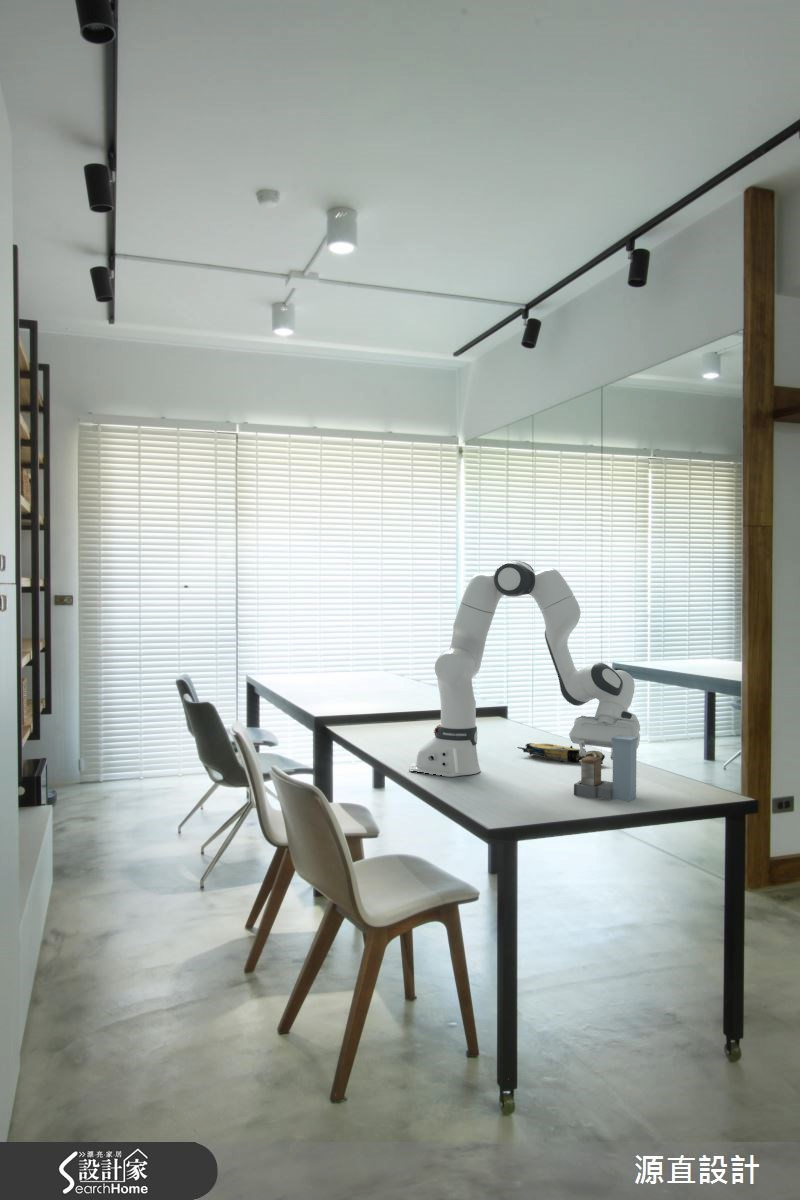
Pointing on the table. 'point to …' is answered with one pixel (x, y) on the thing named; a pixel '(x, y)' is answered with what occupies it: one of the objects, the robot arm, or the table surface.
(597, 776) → the brown rectangular block
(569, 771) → the table surface
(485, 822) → the table surface
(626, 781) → the grey l-shaped post
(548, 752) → the pulley block
